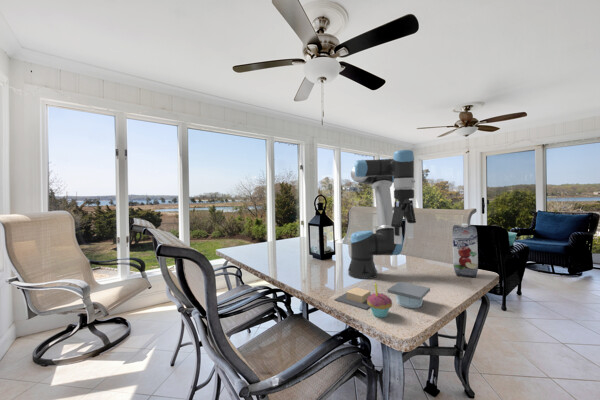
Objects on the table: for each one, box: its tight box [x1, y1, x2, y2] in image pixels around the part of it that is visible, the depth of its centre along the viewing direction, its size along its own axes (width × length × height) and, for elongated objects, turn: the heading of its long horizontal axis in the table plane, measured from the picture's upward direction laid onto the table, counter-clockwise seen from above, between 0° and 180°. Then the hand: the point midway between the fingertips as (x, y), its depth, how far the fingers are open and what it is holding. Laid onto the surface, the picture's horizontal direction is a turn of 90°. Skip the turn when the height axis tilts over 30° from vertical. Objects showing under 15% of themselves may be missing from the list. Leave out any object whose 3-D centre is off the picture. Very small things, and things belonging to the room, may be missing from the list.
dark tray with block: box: [334, 287, 371, 311], centre depth 103 cm, size 14×14×3 cm
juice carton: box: [452, 223, 479, 278], centre depth 131 cm, size 9×10×27 cm
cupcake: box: [367, 282, 393, 318], centre depth 89 cm, size 9×8×12 cm
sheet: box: [387, 281, 431, 300], centre depth 98 cm, size 12×12×1 cm
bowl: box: [395, 294, 424, 309], centre depth 98 cm, size 9×9×4 cm
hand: (404, 241), depth 102 cm, fingers open, 13 cm apart
